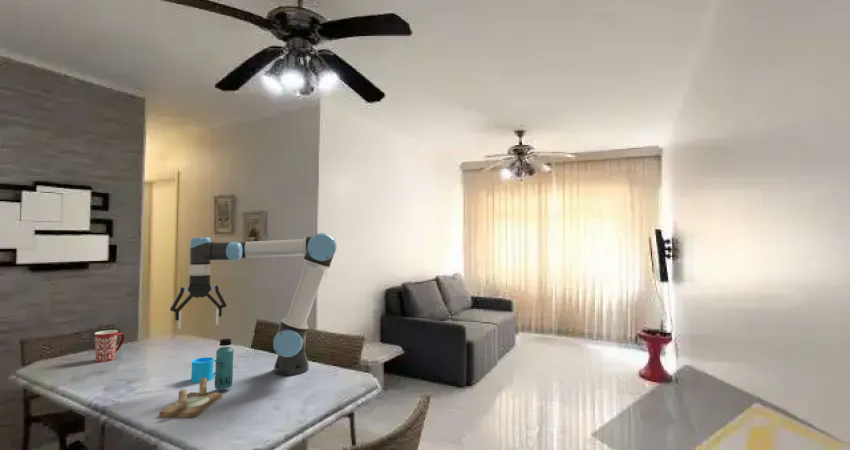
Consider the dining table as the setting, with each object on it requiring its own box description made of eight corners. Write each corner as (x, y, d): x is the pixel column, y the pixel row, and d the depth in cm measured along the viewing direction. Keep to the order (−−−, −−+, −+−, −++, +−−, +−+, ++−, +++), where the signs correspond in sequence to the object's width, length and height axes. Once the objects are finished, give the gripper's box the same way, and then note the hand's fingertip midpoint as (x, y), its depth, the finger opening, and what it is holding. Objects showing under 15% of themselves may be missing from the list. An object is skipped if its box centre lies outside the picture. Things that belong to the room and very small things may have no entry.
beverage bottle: (218, 387, 164) (220, 337, 165) (235, 387, 164) (237, 337, 165) (210, 393, 157) (213, 341, 158) (228, 393, 158) (230, 341, 159)
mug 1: (99, 363, 192) (101, 334, 193) (89, 361, 196) (90, 332, 197) (128, 357, 204) (130, 329, 204) (118, 354, 208) (119, 328, 208)
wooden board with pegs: (222, 397, 154) (223, 376, 154) (195, 417, 136) (196, 394, 136) (190, 396, 154) (191, 376, 154) (159, 416, 136) (160, 393, 136)
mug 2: (196, 384, 168) (197, 363, 168) (187, 380, 172) (188, 360, 173) (225, 376, 177) (226, 357, 178) (215, 372, 182) (216, 354, 183)
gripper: (231, 272, 180) (230, 321, 179) (163, 275, 166) (162, 328, 165) (234, 273, 173) (233, 324, 172) (164, 276, 159) (163, 331, 158)
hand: (198, 326), depth 169 cm, fingers open, 13 cm apart
